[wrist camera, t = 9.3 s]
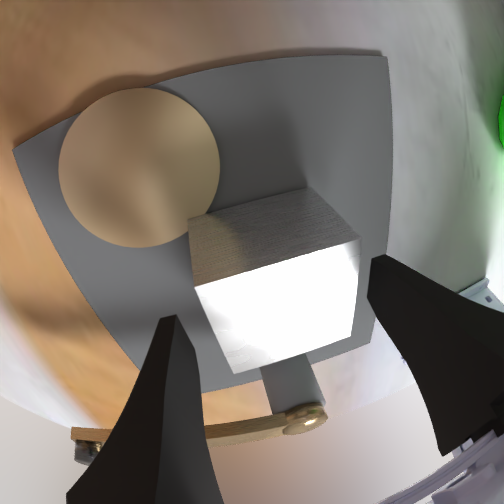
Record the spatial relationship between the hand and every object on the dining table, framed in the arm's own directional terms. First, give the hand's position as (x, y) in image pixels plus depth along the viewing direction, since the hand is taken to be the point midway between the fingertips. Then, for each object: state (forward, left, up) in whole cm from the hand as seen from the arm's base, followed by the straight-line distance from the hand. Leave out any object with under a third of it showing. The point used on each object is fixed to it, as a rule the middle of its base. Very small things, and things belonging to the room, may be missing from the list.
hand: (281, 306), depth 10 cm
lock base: (+1, +2, -4) cm, 4 cm away
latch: (+6, +7, +1) cm, 9 cm away
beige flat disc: (+4, -5, -4) cm, 7 cm away
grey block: (0, 0, -4) cm, 4 cm away
